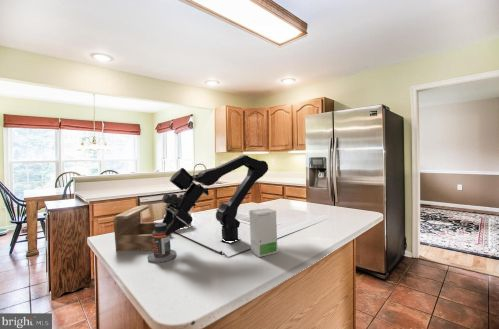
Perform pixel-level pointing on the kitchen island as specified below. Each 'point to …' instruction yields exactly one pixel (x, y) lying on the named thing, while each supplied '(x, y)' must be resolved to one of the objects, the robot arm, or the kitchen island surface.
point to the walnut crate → (133, 231)
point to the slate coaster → (154, 259)
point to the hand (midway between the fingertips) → (163, 231)
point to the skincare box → (263, 232)
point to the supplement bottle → (161, 241)
